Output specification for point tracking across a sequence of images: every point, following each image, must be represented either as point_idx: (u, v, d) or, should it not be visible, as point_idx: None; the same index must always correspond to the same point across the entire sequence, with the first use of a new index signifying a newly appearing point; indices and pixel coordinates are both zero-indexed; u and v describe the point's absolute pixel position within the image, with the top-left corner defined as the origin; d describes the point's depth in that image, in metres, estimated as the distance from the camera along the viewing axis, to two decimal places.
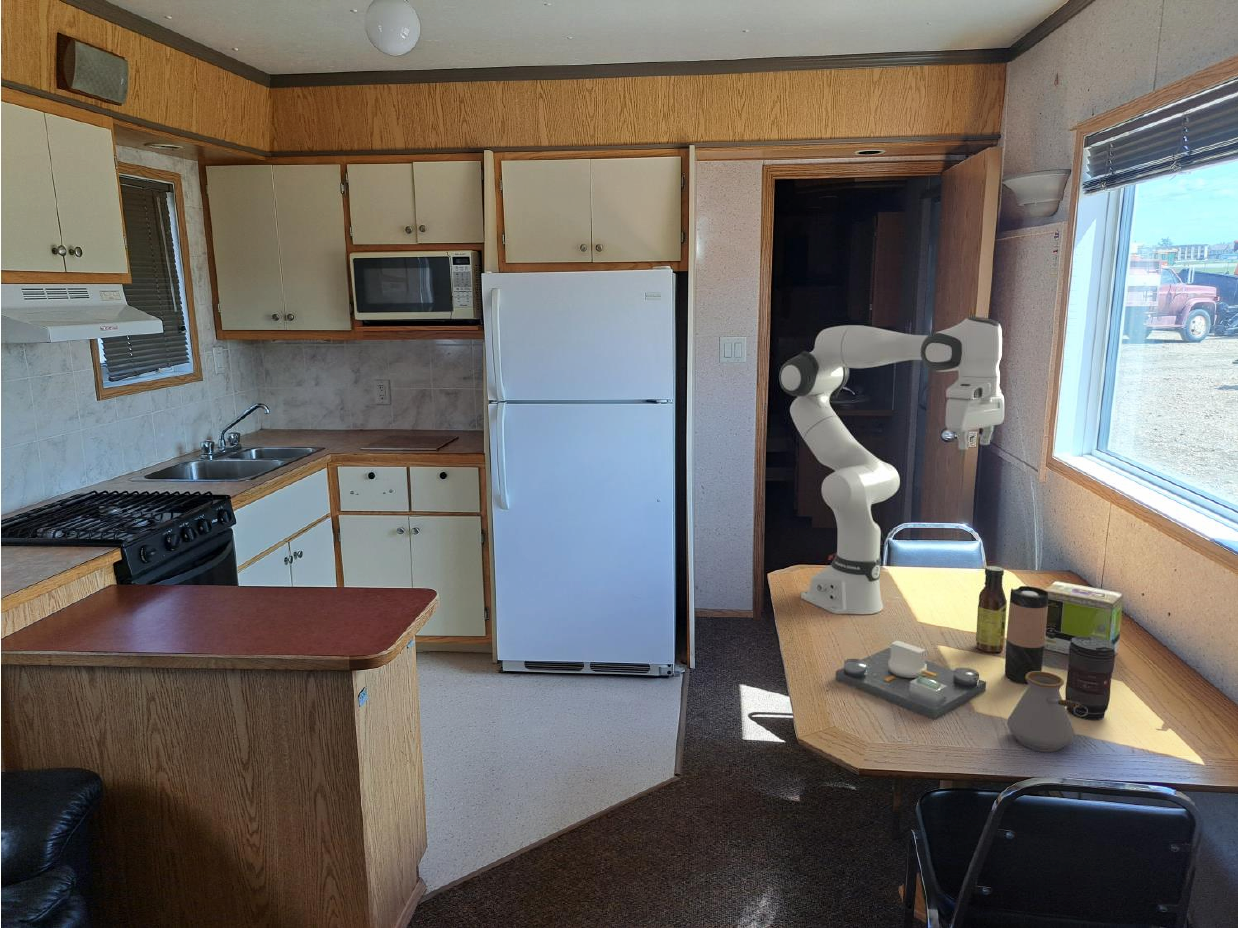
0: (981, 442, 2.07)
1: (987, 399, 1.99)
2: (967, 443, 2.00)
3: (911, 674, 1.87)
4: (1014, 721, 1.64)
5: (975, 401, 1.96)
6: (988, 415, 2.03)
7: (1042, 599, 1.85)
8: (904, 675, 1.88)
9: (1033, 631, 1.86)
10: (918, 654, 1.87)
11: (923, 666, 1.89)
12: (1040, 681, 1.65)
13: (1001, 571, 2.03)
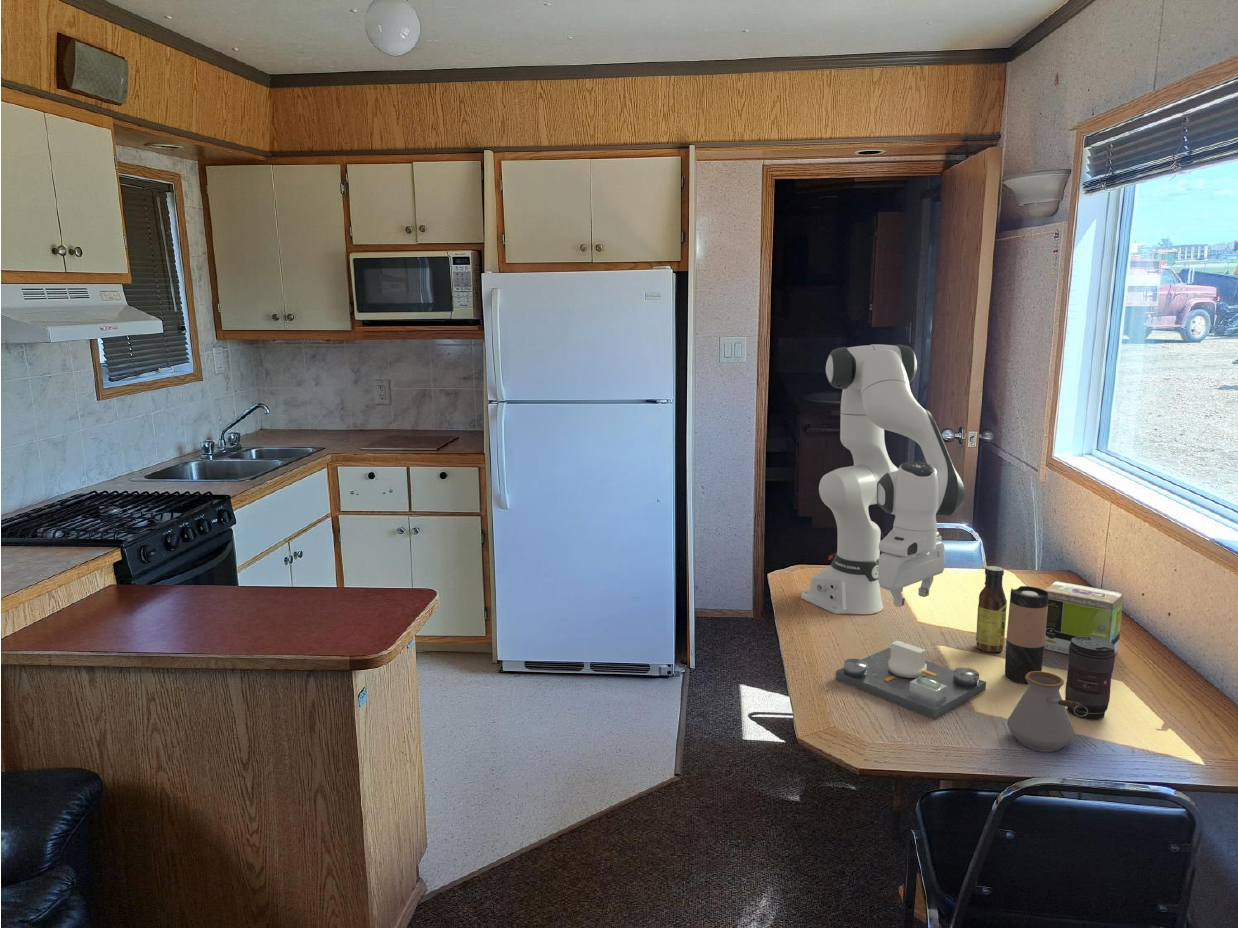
0: (920, 593, 1.91)
1: (923, 553, 1.83)
2: (902, 600, 1.84)
3: (911, 674, 1.87)
4: (1014, 721, 1.64)
5: (909, 557, 1.80)
6: (926, 567, 1.87)
7: (1042, 599, 1.85)
8: (904, 675, 1.88)
9: (1033, 631, 1.86)
10: (918, 654, 1.87)
11: (923, 666, 1.89)
12: (1040, 681, 1.65)
13: (1001, 571, 2.03)
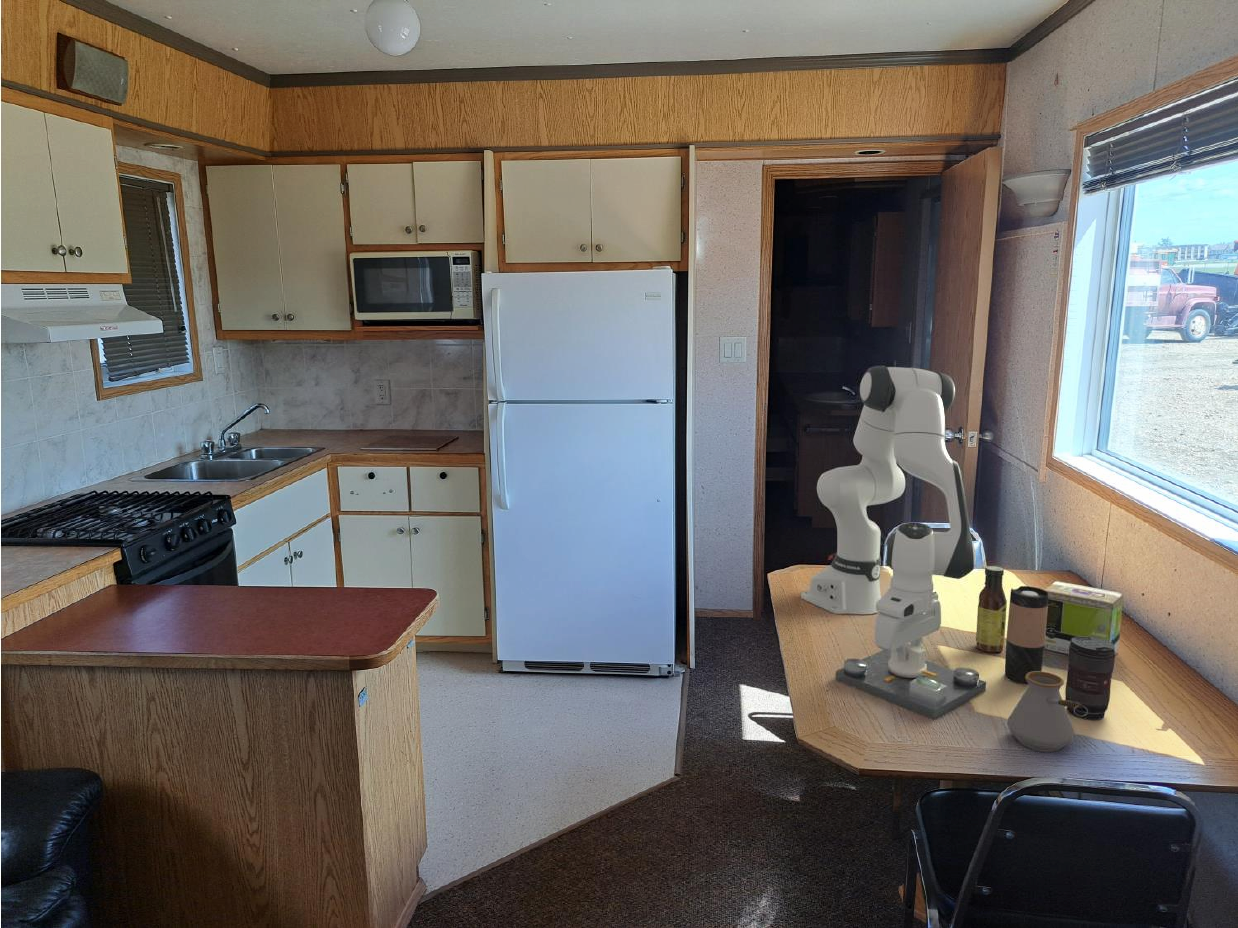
0: None
1: (920, 613, 1.86)
2: (906, 655, 1.89)
3: (911, 674, 1.87)
4: (1014, 721, 1.64)
5: (905, 618, 1.83)
6: (922, 625, 1.89)
7: (1042, 599, 1.85)
8: (904, 675, 1.88)
9: (1033, 631, 1.86)
10: (918, 654, 1.87)
11: (923, 666, 1.89)
12: (1040, 681, 1.65)
13: (1001, 571, 2.03)
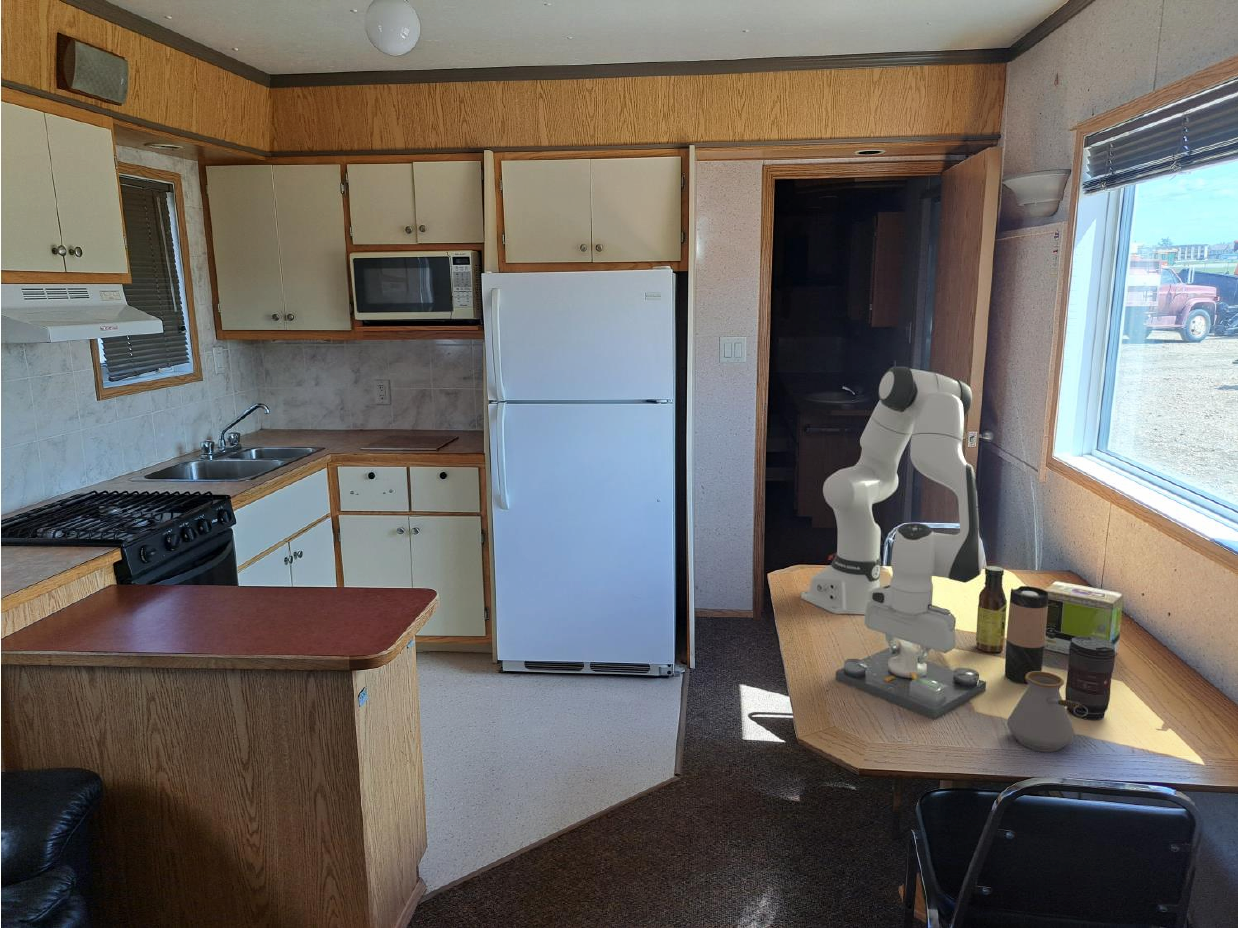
0: None
1: (898, 611, 1.88)
2: (892, 648, 1.93)
3: (897, 671, 1.89)
4: (1014, 721, 1.64)
5: (878, 604, 1.91)
6: (914, 631, 1.87)
7: (1042, 599, 1.85)
8: (892, 671, 1.90)
9: (1033, 631, 1.86)
10: (906, 654, 1.87)
11: (914, 669, 1.87)
12: (1040, 681, 1.65)
13: (1001, 571, 2.03)
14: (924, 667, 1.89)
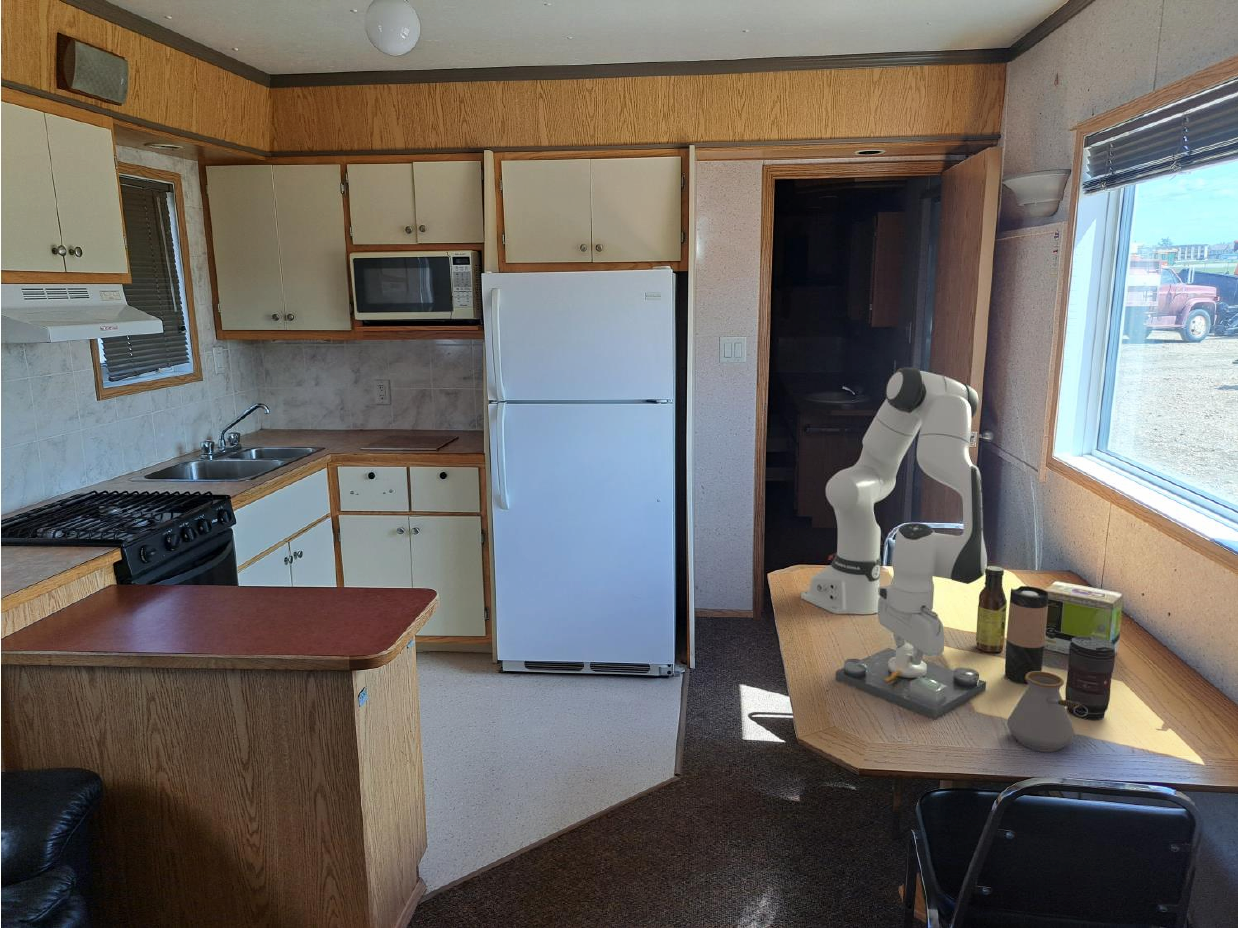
0: None
1: None
2: None
3: (889, 667, 1.91)
4: (1014, 721, 1.64)
5: (884, 600, 1.94)
6: (908, 631, 1.87)
7: (1042, 599, 1.85)
8: (888, 666, 1.92)
9: (1033, 631, 1.86)
10: None
11: (903, 668, 1.88)
12: (1040, 681, 1.65)
13: (1001, 571, 2.03)
14: (917, 670, 1.88)
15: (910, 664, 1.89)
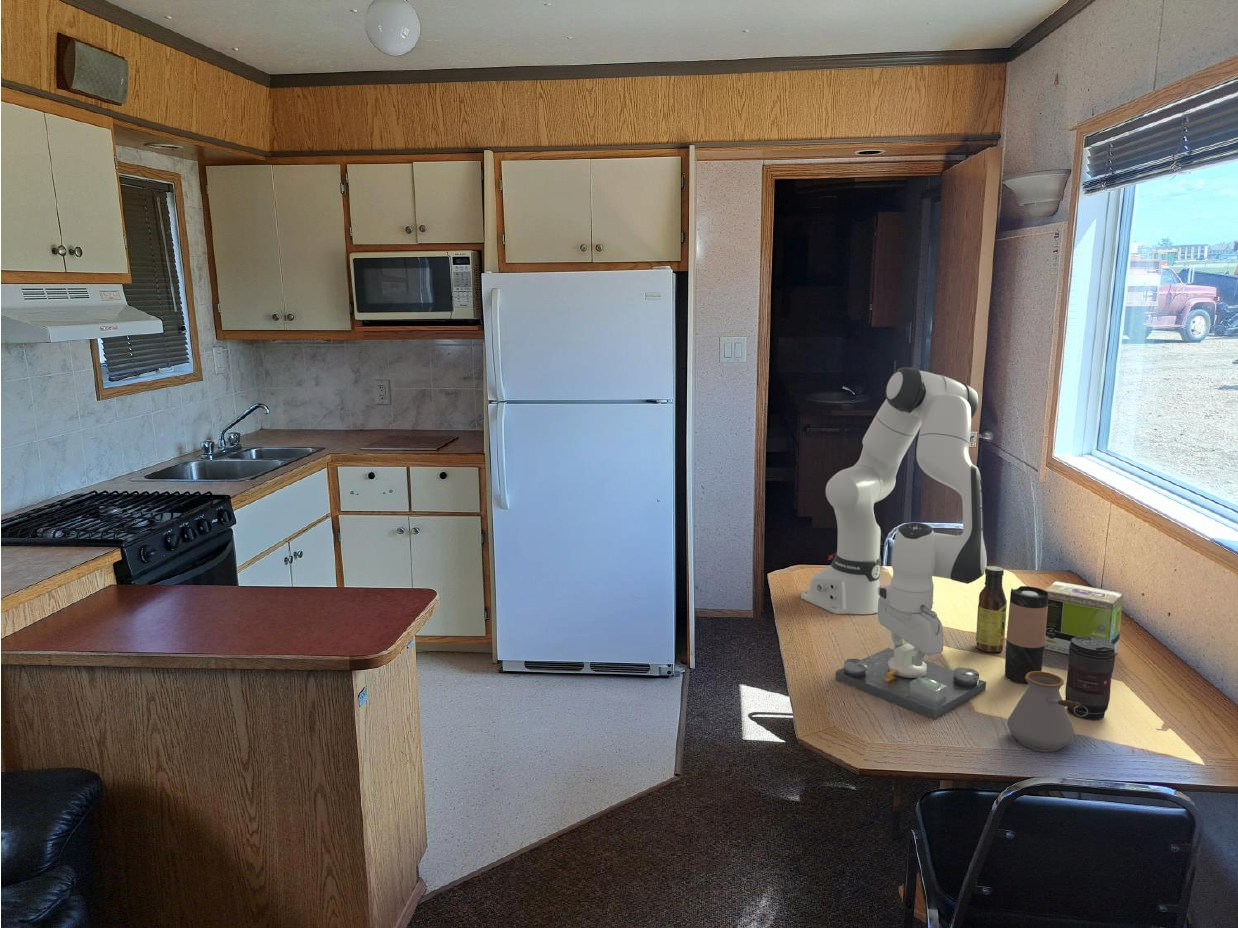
0: None
1: None
2: (895, 646, 1.94)
3: (888, 666, 1.92)
4: (1014, 721, 1.64)
5: (884, 600, 1.94)
6: (908, 631, 1.87)
7: (1042, 599, 1.85)
8: None
9: (1033, 631, 1.86)
10: None
11: (900, 667, 1.88)
12: (1040, 681, 1.65)
13: (1001, 571, 2.03)
14: (915, 670, 1.87)
15: (909, 664, 1.89)
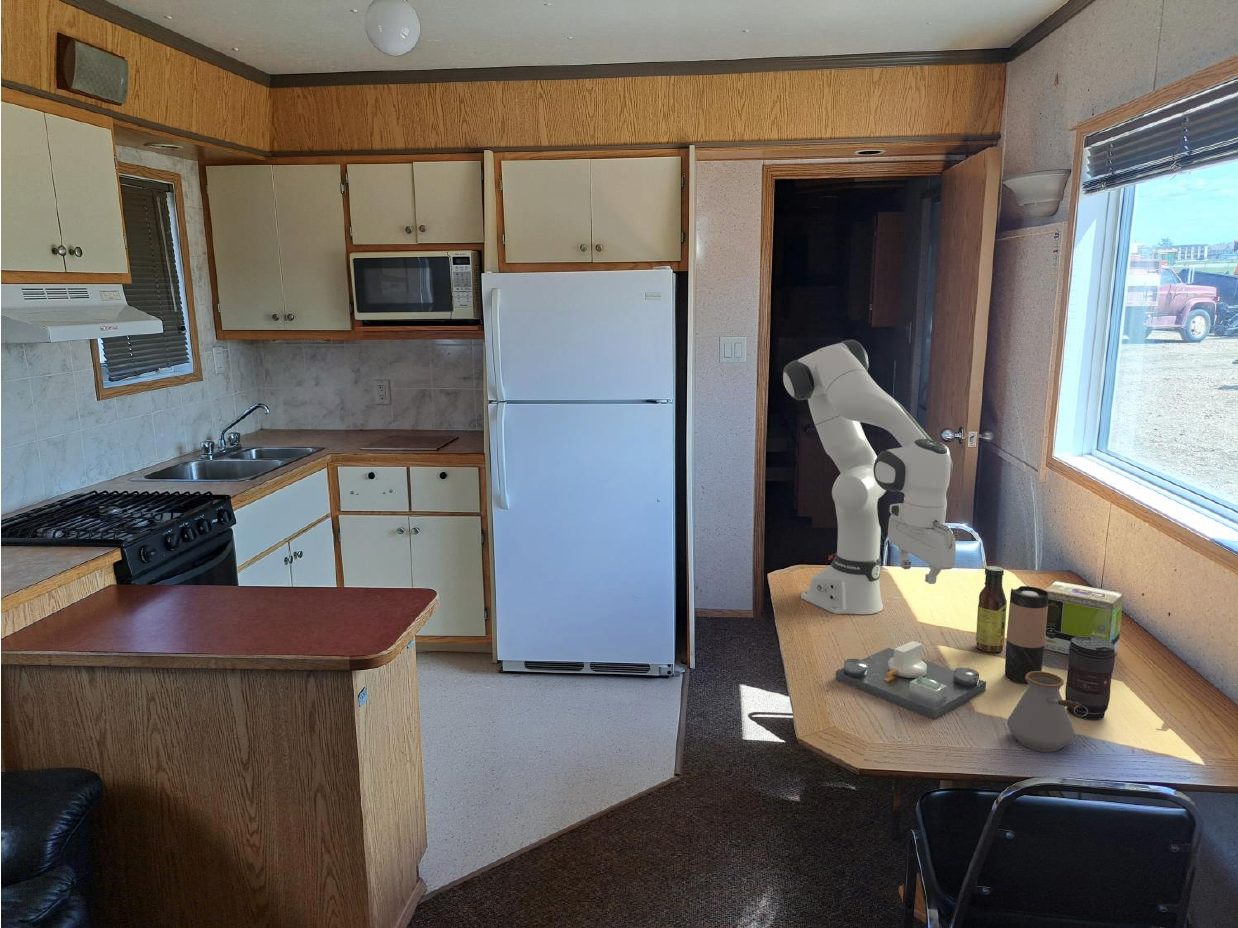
0: None
1: (908, 524, 1.89)
2: (902, 562, 1.96)
3: (888, 666, 1.92)
4: (1014, 721, 1.64)
5: (896, 518, 1.94)
6: (919, 546, 1.87)
7: (1042, 599, 1.85)
8: None
9: (1033, 631, 1.86)
10: None
11: (900, 667, 1.88)
12: (1040, 681, 1.65)
13: (1001, 571, 2.03)
14: (915, 670, 1.87)
15: (909, 664, 1.89)
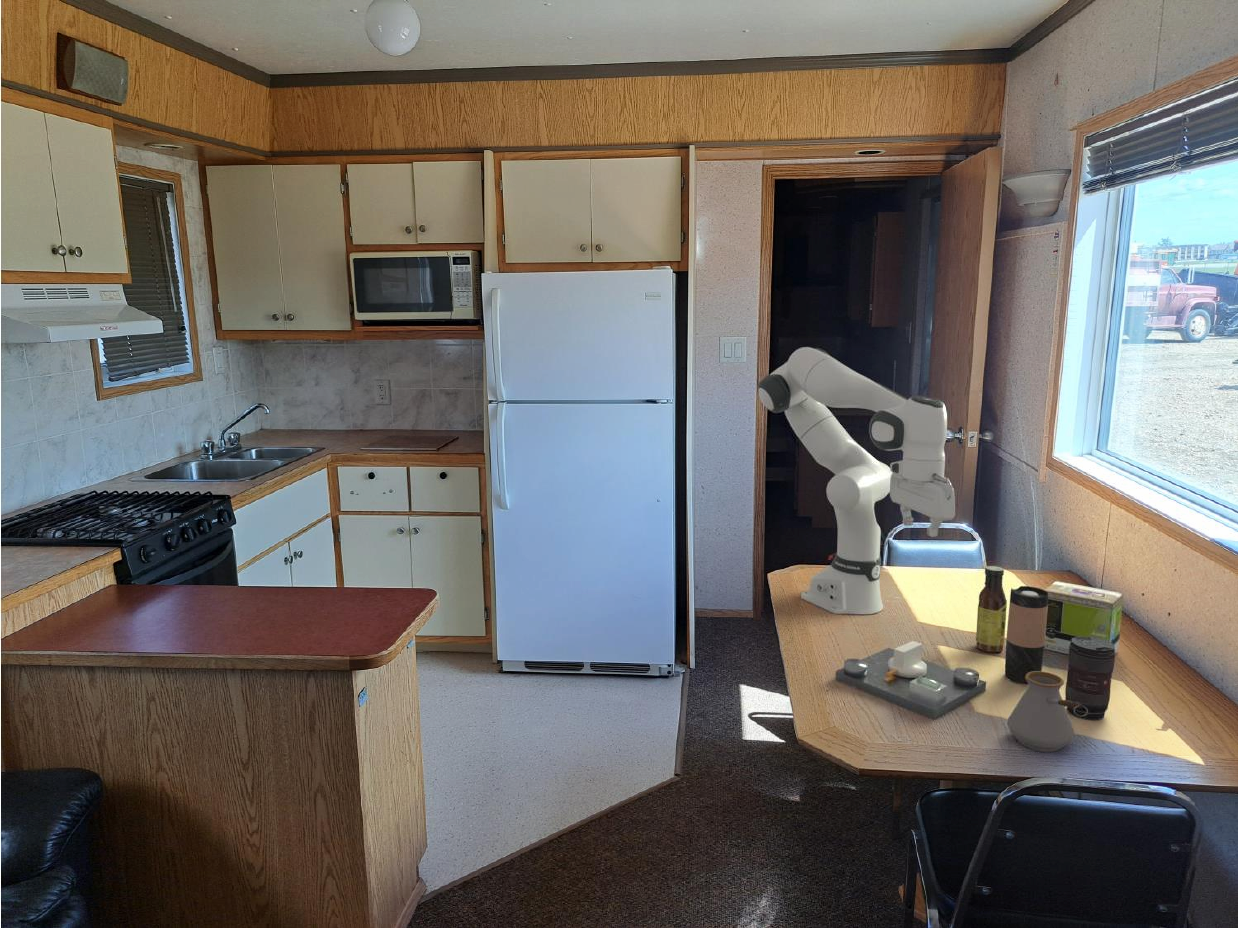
0: None
1: (908, 480, 1.94)
2: (904, 519, 2.00)
3: (888, 666, 1.92)
4: (1014, 721, 1.64)
5: (896, 475, 1.99)
6: (920, 500, 1.92)
7: (1042, 599, 1.85)
8: None
9: (1033, 631, 1.86)
10: None
11: (900, 667, 1.88)
12: (1040, 681, 1.65)
13: (1001, 571, 2.03)
14: (915, 670, 1.87)
15: (909, 664, 1.89)
